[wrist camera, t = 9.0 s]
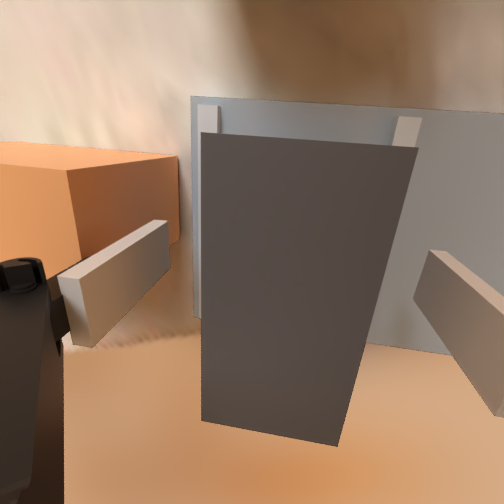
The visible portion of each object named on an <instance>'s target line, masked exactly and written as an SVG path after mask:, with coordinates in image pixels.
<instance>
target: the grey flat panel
mask: <svg viewBox="0 0 504 504" xmlns="http://www.w3.org/2000/svg"><path fill="white" fill-rule="evenodd" d="M201 132H207V133H221V134H235V135H249V136H263V137H277V138H291V139H305V140H319V141H333V142H347V143H362V144H376V145H390V146H404V147H418V148H419V149H418V153H417V157H416V160H415V164H414V168H413V171H412V175H411V179H410V182H409V186H408V190H407V193H406V197H405V201H404V204H403V208H402V212H401V215H400V219H399V223H398V226H397V230H396V234H395V237H394V241H393V245H392V248H391V252H390V256H389V259H388V263H387V267H386V270H385V274H384V278H383V281H382V285H381V289H380V292H379V296H378V300H377V303H376V307H375V311H374V314H373V318H372V322H371V325H370V329H369V333H368V336H367V340H366V343H371V344H377V345H385V346H391V347H398V348H404V349H411V350H418V351H424V352H431V353H438V354H445V355H451V353H450V352H449V350H448V349H447V347H446V346H445V345H444V343H443V342H442V340H441V339H440V337H439V336H438V335H437V333H436V332H435V330H434V329H433V327H432V326H431V325H430V323H429V322H428V320H427V319H426V317H425V316H424V314H423V313H422V312H421V310H420V309H419V307H418V306H417V304H416V303H415V302H414V300H413V296H414V293H415V290H416V287H417V285H418V282H419V279H420V276H421V273H422V270H423V267H424V264H425V261H426V258H427V255H428V252H429V250H437V251H446V252H448V253H449V254H450V255H451V256H453V257H454V258H455V259H456V260H458V261H459V262H460V263H462V264H463V265H464V266H465V267H467V268H468V269H469V270H470V271H472V272H473V273H474V274H476V275H477V276H478V277H479V278H481V279H482V280H483V281H484V282H486V283H487V284H488V285H490V286H491V287H492V288H493V289H495V290H496V291H497V292H498V293H500V294H501V295H502V296H504V113H487V112H469V111H451V110H433V109H416V108H398V107H380V106H362V105H344V104H327V103H309V102H291V101H273V100H255V99H238V98H220V97H202V96H191V157H192V225H193V293H194V317H196V318H199V319H201ZM451 356H452V355H451Z"/></svg>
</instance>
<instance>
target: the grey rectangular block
mask: <svg viewBox="0 0 504 504" xmlns="http://www.w3.org/2000/svg"><path fill="white" fill-rule="evenodd" d="M418 149H419V148H418V147H404V146H390V145H376V144H362V143H347V142H333V141H319V140H305V139H291V138H277V137H263V136H249V135H235V134H221V133H207V132H201V398H202V399H201V405H202V406H201V416H202V417H201V420H202V421H206V422H211V423H216V424H221V425H227V426H232V427H237V428H242V429H247V430H252V431H258V432H263V433H268V434H274V435H278V436H284V437H289V438H294V439H300V440H305V441H310V442H315V443H320V444H325V445H331V446H336V447H337V446H338V443H339V439H340V435H341V431H342V428H343V424H344V421H345V417H346V413H347V410H348V406H349V402H350V399H351V395H352V391H353V388H354V384H355V380H356V377H357V373H358V369H359V366H360V362H361V358H362V355H363V351H364V347H365V344H366V340H367V336H368V333H369V329H370V325H371V322H372V318H373V314H374V311H375V307H376V303H377V300H378V296H379V292H380V289H381V285H382V281H383V278H384V274H385V270H386V267H387V263H388V259H389V256H390V252H391V248H392V245H393V241H394V237H395V234H396V230H397V226H398V223H399V219H400V215H401V212H402V208H403V204H404V201H405V197H406V193H407V190H408V186H409V182H410V179H411V175H412V171H413V168H414V164H415V160H416V157H417V153H418Z"/></svg>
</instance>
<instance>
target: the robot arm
mask: <svg viewBox="0 0 504 504" xmlns="http://www.w3.org/2000/svg"><path fill="white" fill-rule="evenodd" d="M170 268H171V266H170V247H169V229H168V221H164V220H155V219H154V220H153V221H151V222H149V223H148V224H146V225H144V226H142V227H141V228H139V229H137V230H135V231H134V232H132V233H130V234H129V235H127V236H125V237H123V238H122V239H120V240H118V241H117V242H115V243H113V244H111V245H110V246H108V247H106V248H105V249H103V250H101V251H99V252H98V253H96V254H94V255H92V256H89V257H86V258H84V259H82V260H80V261H79V262H77V263H76V264H73V265H72V266H70V267H68V269H65V270H63V271H61V272H59V273H58V274H56V275H54V276H52V277H51V278H49V279H46V275H45V271H44V267H43V263H42V261H41V259H38V258H33V257H24V258H15V259H10V260H6V261H3V262H0V504H64V403H63V402H64V393H63V392H64V389H63V388H64V386H63V384H64V383H63V382H64V381H63V343H62V339H61V338H62V337H63V336H64V335H66V334H67V333H68V332H69V331H70V334H71V338H72V342H73V345H79V346H85V347H91V348H93V347H94V346H95V345H96V344H97V343H98V342H99V341H100V340H101V339H102V338H103V337H104V336H105V335H106V334H107V333H108V332H109V331H110V330H111V329H112V328H113V326H114V325H115V324H116V323H117V322H118V321H119V320H120V319H121V318H122V317H123V316H124V315H125V314H126V313H127V312H128V311H129V310H130V309H131V308H132V307H133V306H134V305H135V304H136V303H137V302H138V301H139V300H140V299H141V298H142V297H143V296H144V295H145V293H146V292H147V291H148V290H149V289H150V288H151V287H152V286H153V285H154V284H155V283H156V282H157V281H158V280H159V279H160V278H161V277H162V276H163V275H164V274H165V273H166V272H167V271H168V270H169V269H170ZM413 300H414V302H415V303H416V304H417V306H418V307H419V309H420V310H421V312H422V313H423V314H424V316H425V317H426V319H427V320H428V322H429V323H430V325H431V326H432V327H433V329H434V330H435V332H436V333H437V335H438V336H439V337H440V339H441V340H442V342H443V343H444V345H445V346H446V347H447V349H448V350H449V352H450V353H451V355H452V356H453V357H454V359H455V360H456V362H457V363H458V365H459V366H460V368H461V369H462V370H463V372H464V373H465V375H466V376H467V378H468V379H469V380H470V382H471V383H472V385H473V386H474V388H475V389H476V391H477V392H478V393H479V395H480V396H481V397H482V399H483V401H484V402H485V403H486V405H487V406H488V408H489V409H490V411H491V412H492V413H493V415H494V416H498V417H504V296H502V295H501V294H500V293H498V292H497V291H496V290H495V289H493V288H492V287H491V286H490V285H488V284H487V283H486V282H484V281H483V280H482V279H481V278H479V277H478V276H477V275H476V274H474V273H473V272H472V271H470V270H469V269H468V268H467V267H465V266H464V265H463V264H462V263H460V262H459V261H458V260H456V259H455V258H454V257H453V256H451V255H450V254H449V253H448V252H446V251H437V250H429V252H428V255H427V258H426V261H425V264H424V267H423V270H422V273H421V276H420V279H419V282H418V285H417V287H416V290H415V293H414V296H413Z"/></svg>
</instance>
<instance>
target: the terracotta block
mask: <svg viewBox="0 0 504 504" xmlns="http://www.w3.org/2000/svg"><path fill="white" fill-rule="evenodd" d="M154 219H155V220H164V221H168V229H169V246H171V245H172V244H173V243H174V242H176V241H177V240H178V239H179V238H180V228H179V193H178V157H177V156H173V155H162V154H150V153H139V152H128V151H116V150H105V149H94V148H82V147H71V146H60V145H48V144H37V143H26V142H0V262H3V261H6V260H10V259H15V258H24V257H33V258H38V259H41V261H42V263H43V267H44V271H45V275H46V279H49V278H51V277H52V276H54V275H56V274H58V273H59V272H61V271H63V270H65V269H68V267H70V266H72V265H73V264H76V263H77V262H79V261H80V260H82V259H84V258H86V257H89V256H92V255H94V254H96V253H98V252H99V251H101V250H103V249H105V248H106V247H108V246H110V245H111V244H113V243H115V242H117V241H118V240H120V239H122V238H123V237H125V236H127V235H129V234H130V233H132V232H134V231H135V230H137V229H139V228H141V227H142V226H144V225H146V224H148V223H149V222H151V221H153V220H154Z"/></svg>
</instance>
